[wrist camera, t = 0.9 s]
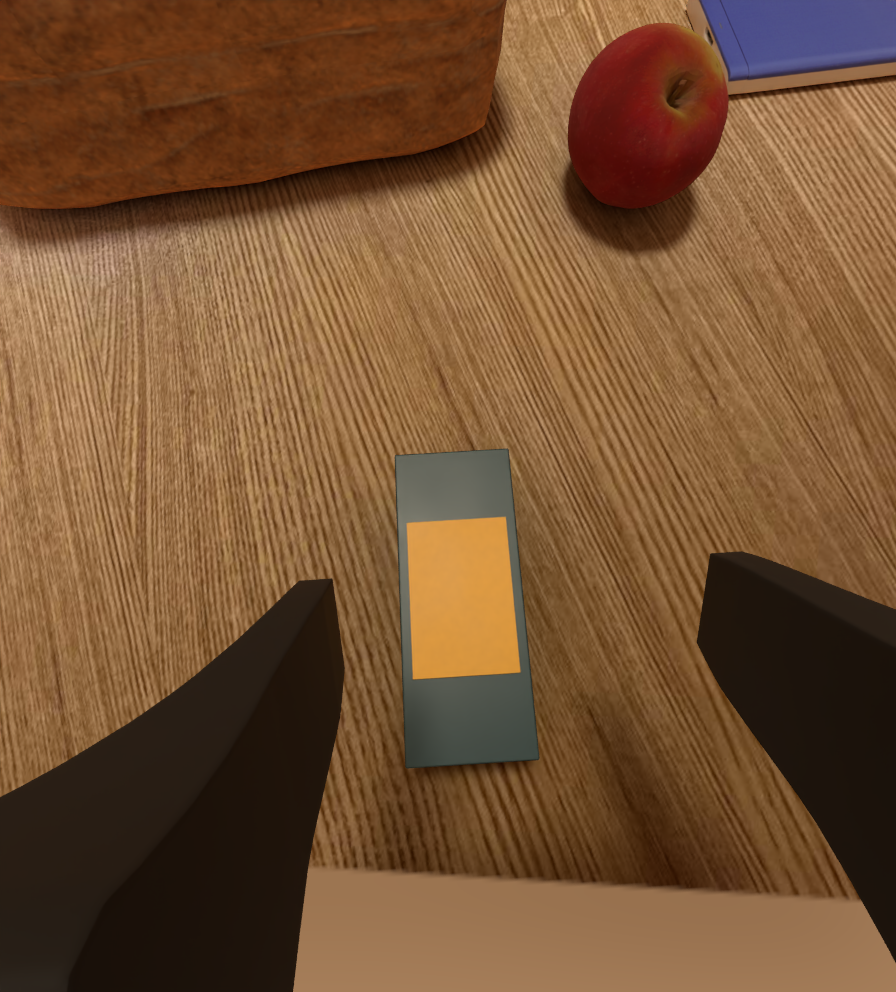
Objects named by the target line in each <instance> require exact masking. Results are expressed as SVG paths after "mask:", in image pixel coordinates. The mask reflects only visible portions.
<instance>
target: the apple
mask: <svg viewBox="0 0 896 992" xmlns="http://www.w3.org/2000/svg"><path fill="white" fill-rule="evenodd" d="M727 113H728V90H727V85H726V80H725V76H724V73H723V70H722V67H721V64H720V61H719V59H718V57H717V55H716V53H715V52H714V50H713V49H712V47H711V46H710V45H709V44H708V42H707V41H706V40H705V39H704V38H703V37H701V36H700V35H698V34H697V33H695V32H694V31H692V30H690V29H688V28H686V27H683V26H680V25H676V24H671V23H655V24H649V25H645V26H642V27H639V28H636V29H634V30H631V31H629V32H627V33H626V34H624V35H622V36H620V37H618V38H617V39H616V40H614V41H613V42H611V43H610V44H609V45H608V46H606V47H605V48H604V49H603V50H602V51H601V52H600V53H599V54H598V56H597V57H596V58H595V59H594V60H593V61H592V62H591V64H590V65H589V67H588V68H587V70H586V72H585V73H584V75H583V77H582V79H581V81H580V83H579V85H578V87H577V90H576V92H575V95H574V99H573V102H572V105H571V110H570V116H569V124H568V147H569V153H570V157H571V160H572V164H573V166H574V169H575V171H576V173H577V175H578V176H579V178H580V180H581V181H582V182H583V184H584V185H585V187H586V188H587V189H588V190H589V192H590V193H591V194H592V195H593V196H594V197H595V198H596V199H597V200H599V201H600V202H602V203H604V204H607V205H610V206H615V207H622V208H642V207H647V206H651V205H655V204H658V203H660V202H663V201H665V200H667V199H669V198H671V197H673V196H674V195H676V194H678V193H679V192H681V191H682V190H684V189H685V188H686V187H687V186H689V185H690V184H691V183H692V182H693V181H694V180H695V179H696V178H697V177H698V176H699V175H700V174H701V173H702V172H703V171H704V170H705V168H706V167H707V166H708V164H709V163H710V161H711V160H712V158H713V156H714V154H715V152H716V150H717V148H718V145H719V143H720V139H721V136H722V133H723V129H724V126H725V122H726V119H727Z"/></svg>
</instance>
